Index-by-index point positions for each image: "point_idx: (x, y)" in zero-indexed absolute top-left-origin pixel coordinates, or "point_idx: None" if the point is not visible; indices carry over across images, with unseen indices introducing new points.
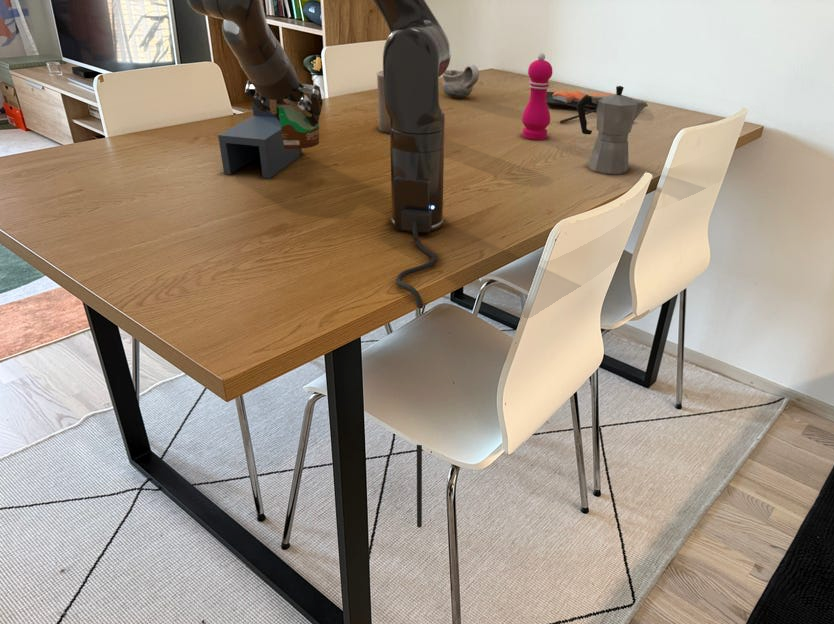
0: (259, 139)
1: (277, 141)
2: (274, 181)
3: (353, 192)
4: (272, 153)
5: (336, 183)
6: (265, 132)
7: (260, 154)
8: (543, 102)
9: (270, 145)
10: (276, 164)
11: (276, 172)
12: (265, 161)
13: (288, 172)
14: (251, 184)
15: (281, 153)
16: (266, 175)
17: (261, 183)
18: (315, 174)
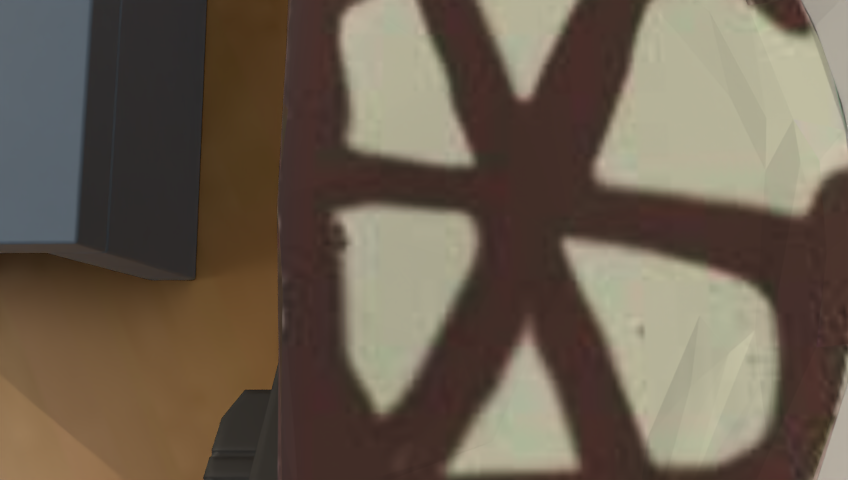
0: (26, 243)
1: (126, 27)
2: (244, 317)
3: None
4: (146, 160)
5: None
6: (4, 34)
7: (83, 262)
8: None
9: (117, 163)
10: (182, 141)
11: (198, 167)
12: (137, 266)
13: (265, 126)
14: (126, 416)
15: (170, 26)
16: (170, 277)
17: (179, 379)
18: None
